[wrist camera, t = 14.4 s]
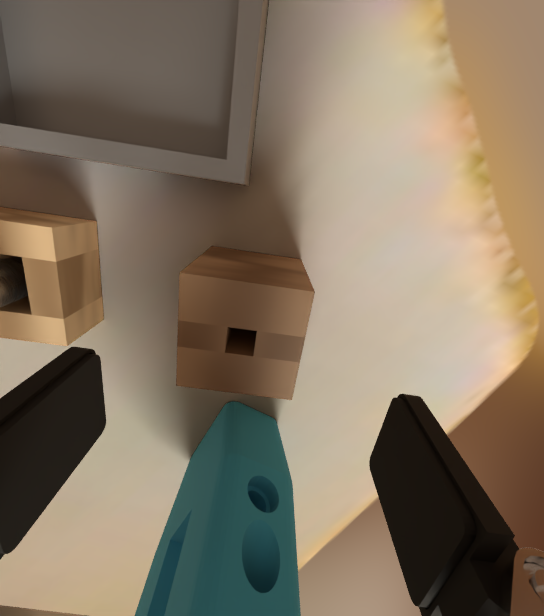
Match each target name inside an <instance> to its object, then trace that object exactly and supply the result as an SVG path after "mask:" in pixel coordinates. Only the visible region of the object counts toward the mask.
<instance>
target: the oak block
mask: <svg viewBox="0 0 544 616" xmlns="http://www.w3.org/2000/svg"><path fill="white" fill-rule="evenodd" d="M12 256H18V257H22V261H23V267H24V273H25V278H26V284H27V290H28V296H27V297H24V298H22V299H19V300H17V301H15V302H12V303H10V304H7V305H5V306H2V307H0V338H8V339H16V340H24V341H31V342H39V343H47V344H55V345H62V346H68V345H69V344H71V343H72V342H74V341H75V340H76V339H78V338H79V337H80V336H82V335H83V334H85V333H86V332H87V331H89V330H90V329H91V328H93V327H94V326H96V325H97V324H98V323H100V322H101V321H102V320H104V315H103V302H102V288H101V275H100V261H99V248H98V235H97V221H92V220H85V219H79V218H72V217H65V216H59V215H52V214H45V213H38V212H32V211H25V210H18V209H12V208H5V207H0V259H4V258H8V257H12Z"/></svg>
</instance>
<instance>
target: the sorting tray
mask: <svg viewBox="0 0 544 616" xmlns="http://www.w3.org/2000/svg"><path fill="white" fill-rule="evenodd" d="M268 5H269V0H0V146H1V147H7V148H12V149H18V150H25V151H31V152H37V153H44V154H50V155H56V156H63V157H69V158H75V159H82V160H88V161H94V162H100V163H107V164H113V165H119V166H126V167H132V168H138V169H145V170H151V171H157V172H164V173H170V174H176V175H183V176H189V177H195V178H201V179H208V180H214V181H220V182H227V183H233V184H239V185H246V186H249V181H250V172H251V163H252V153H253V144H254V135H255V126H256V116H257V107H258V98H259V89H260V79H261V70H262V61H263V51H264V42H265V33H266V24H267V14H268Z"/></svg>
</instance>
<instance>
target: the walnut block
mask: <svg viewBox="0 0 544 616" xmlns="http://www.w3.org/2000/svg"><path fill="white" fill-rule="evenodd" d="M314 293H315V292H314V289H313V287H312V284H311V282H310V279H309V277H308V275H307V272H306V270H305V267H304V265H303V263H302V260H301V259H296V258H289V257H282V256H276V255H269V254H262V253H255V252H249V251H242V250H235V249H228V248H222V247H215V246H212V247H210V248H209V249H208V250H207V251H205V252H204V253H203V254H202V255H201V256H199V257H198V258H197V259H196V260H194V261H193V262H192V263H191V264H189V265H188V266H187V267H186V268H185V269H183V270H182V271H181V272H180V274H179V309H178V343H177V378H176V386H183V387H191V388H199V389H207V390H215V391H223V392H231V393H239V394H247V395H255V396H263V397H271V398H279V399H287V400H292V397H293V392H294V387H295V382H296V378H297V373H298V368H299V364H300V359H301V354H302V349H303V345H304V340H305V335H306V330H307V326H308V321H309V316H310V312H311V307H312V302H313V297H314Z"/></svg>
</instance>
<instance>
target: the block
mask: <svg viewBox="0 0 544 616" xmlns="http://www.w3.org/2000/svg"><path fill="white" fill-rule="evenodd" d="M135 616H301V614H300V599H299V583H298V566H297V550H296V534H295V518H294V502H293V486H292V480H291V476H290V472H289V468H288V464H287V460H286V456H285V453H284V449H283V445H282V441H281V437H280V433H279V429H278V425H277V422H276V420H275V419H274V418H272V417H270V416H268V415H266V414H264V413H261V412H259V411H257V410H255V409H253V408H251V407H248V406H246V405H244V404H242V403H240V402H236V401H232V402H228V403H227V404H225V405H224V407H223V408H222V410H221V411H220V413H219V414H218V416H217V417H216V419H215V421H214V422H213V424H212V425H211V427H210V428H209V430H208V431H207V433H206V435H205V436H204V438H203V439H202V441H201V442H200V444H199V445H198V447H197V449H196V450H195V452H194V453H193V455H192V457H191V459H190V462H189V464H188V467H187V470H186V472H185V475H184V478H183V481H182V483H181V486H180V489H179V491H178V494H177V497H176V499H175V502H174V505H173V507H172V510H171V513H170V515H169V518H168V521H167V524H166V526H165V529H164V532H163V534H162V537H161V540H160V542H159V545H158V548H157V550H156V553H155V556H154V559H153V562H152V565H151V568H150V571H149V574H148V577H147V580H146V583H145V586H144V589H143V592H142V595H141V598H140V601H139V604H138V607H137V610H136V613H135Z"/></svg>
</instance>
